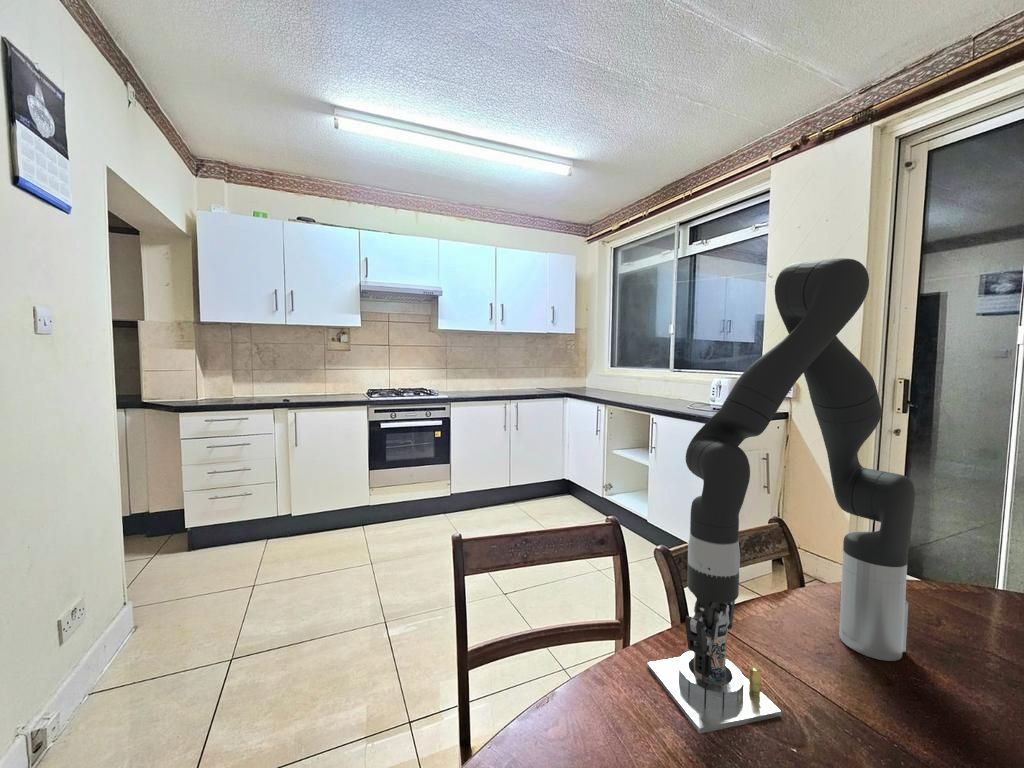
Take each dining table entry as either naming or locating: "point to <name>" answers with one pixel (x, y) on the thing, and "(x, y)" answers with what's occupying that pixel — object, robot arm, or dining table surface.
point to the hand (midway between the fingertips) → (710, 664)
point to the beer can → (716, 656)
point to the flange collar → (714, 694)
